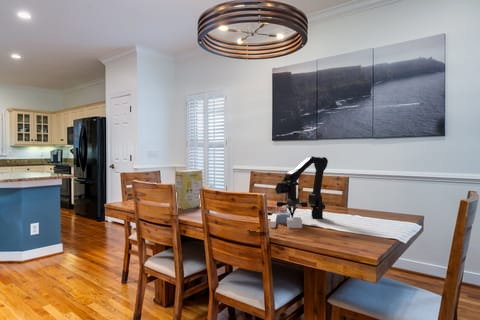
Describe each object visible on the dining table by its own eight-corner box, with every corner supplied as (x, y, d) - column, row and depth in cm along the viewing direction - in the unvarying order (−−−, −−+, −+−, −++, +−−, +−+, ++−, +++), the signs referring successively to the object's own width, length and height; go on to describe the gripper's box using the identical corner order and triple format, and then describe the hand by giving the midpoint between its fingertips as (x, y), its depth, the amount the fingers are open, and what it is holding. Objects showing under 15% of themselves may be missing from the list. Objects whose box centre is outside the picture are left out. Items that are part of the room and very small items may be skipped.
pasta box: (194, 204, 254) (193, 169, 253) (202, 206, 247) (202, 170, 246) (175, 207, 240) (175, 171, 239) (184, 209, 233) (183, 171, 232)
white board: (277, 219, 200) (277, 213, 200) (275, 227, 178) (275, 221, 178) (272, 218, 201) (272, 213, 200) (270, 227, 179) (270, 221, 179)
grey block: (300, 224, 186) (300, 217, 186) (302, 228, 178) (302, 220, 178) (286, 224, 186) (286, 217, 186) (287, 228, 178) (287, 220, 178)
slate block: (290, 220, 197) (290, 213, 197) (289, 223, 190) (289, 215, 189) (277, 219, 199) (277, 212, 199) (276, 222, 191) (276, 215, 191)
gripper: (275, 194, 187) (276, 220, 188) (307, 194, 184) (308, 221, 185) (276, 192, 198) (277, 216, 199) (306, 192, 195) (307, 217, 196)
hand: (292, 217), depth 194 cm, fingers closed
